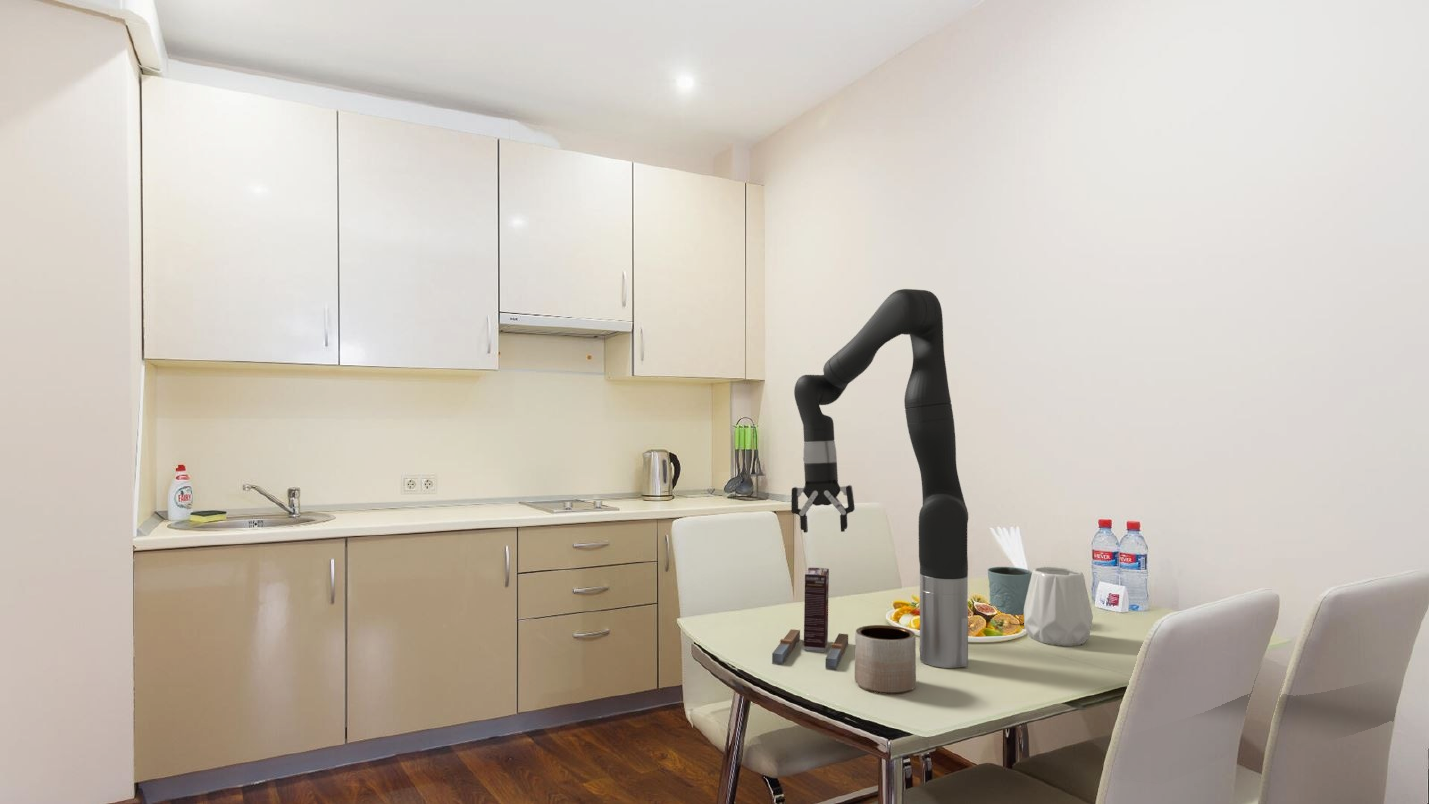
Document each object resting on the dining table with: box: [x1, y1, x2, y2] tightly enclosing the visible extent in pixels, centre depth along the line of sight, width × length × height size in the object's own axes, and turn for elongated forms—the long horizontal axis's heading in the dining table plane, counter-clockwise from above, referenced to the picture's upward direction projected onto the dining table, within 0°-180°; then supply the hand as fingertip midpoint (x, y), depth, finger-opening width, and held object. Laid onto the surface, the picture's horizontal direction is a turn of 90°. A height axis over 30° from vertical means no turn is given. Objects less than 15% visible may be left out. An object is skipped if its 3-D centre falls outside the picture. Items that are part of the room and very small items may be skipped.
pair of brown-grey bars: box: [771, 629, 849, 671], centre depth 164 cm, size 12×19×3 cm, turn 163°
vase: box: [1023, 566, 1094, 647], centre depth 176 cm, size 14×14×15 cm
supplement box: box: [803, 567, 830, 653], centre depth 170 cm, size 9×5×16 cm, turn 168°
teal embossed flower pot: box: [987, 566, 1033, 615], centre depth 193 cm, size 10×10×12 cm
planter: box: [854, 624, 917, 695], centre depth 145 cm, size 11×11×10 cm
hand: (824, 531), depth 183 cm, fingers open, 8 cm apart
